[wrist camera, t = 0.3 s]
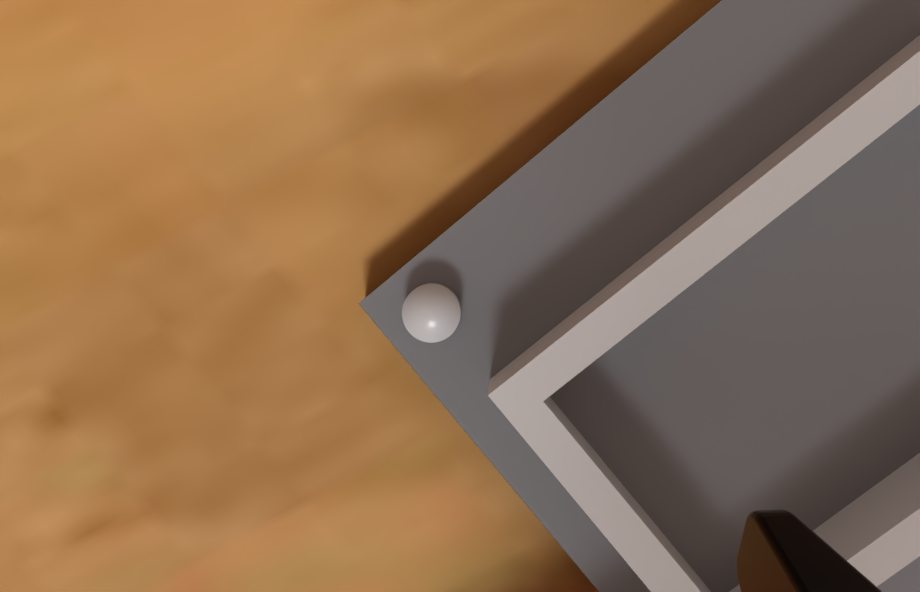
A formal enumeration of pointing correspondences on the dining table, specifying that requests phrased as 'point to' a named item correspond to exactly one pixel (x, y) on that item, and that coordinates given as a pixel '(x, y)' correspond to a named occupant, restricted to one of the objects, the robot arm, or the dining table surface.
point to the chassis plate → (701, 303)
